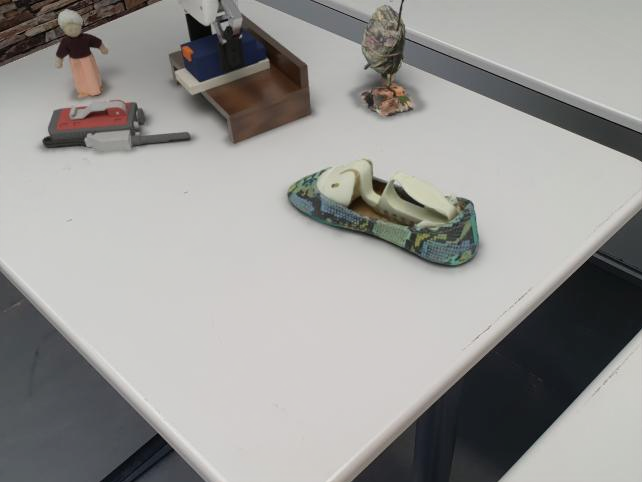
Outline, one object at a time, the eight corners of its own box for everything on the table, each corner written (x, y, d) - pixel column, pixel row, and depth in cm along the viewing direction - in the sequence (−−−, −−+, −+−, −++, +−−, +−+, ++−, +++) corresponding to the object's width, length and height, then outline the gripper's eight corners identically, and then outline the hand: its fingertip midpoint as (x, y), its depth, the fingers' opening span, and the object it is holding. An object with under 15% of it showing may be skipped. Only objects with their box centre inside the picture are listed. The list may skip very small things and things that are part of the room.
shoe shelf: (234, 148, 92) (225, 94, 86) (175, 85, 104) (163, 33, 98) (311, 119, 96) (307, 64, 90) (245, 61, 108) (238, 10, 102)
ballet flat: (311, 176, 88) (306, 119, 82) (493, 234, 79) (503, 175, 73) (273, 216, 83) (265, 159, 77) (462, 282, 74) (471, 224, 68)
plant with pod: (401, 76, 103) (406, -71, 88) (424, 116, 95) (433, -37, 80) (347, 84, 102) (343, -62, 87) (366, 125, 94) (366, -27, 79)
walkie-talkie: (42, 161, 93) (191, 148, 93) (30, 133, 89) (184, 119, 90) (54, 125, 98) (194, 113, 99) (43, 97, 95) (188, 84, 95)
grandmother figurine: (76, 109, 101) (46, 23, 92) (65, 99, 103) (34, 14, 94) (123, 90, 104) (98, 5, 95) (111, 80, 106) (86, -4, 97)
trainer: (191, 95, 92) (184, 60, 89) (176, 79, 95) (168, 45, 92) (270, 68, 96) (266, 33, 93) (252, 53, 99) (248, 19, 96)
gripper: (137, -99, 85) (166, 37, 97) (196, -56, 75) (219, 90, 87) (193, -112, 87) (214, 23, 100) (257, -72, 77) (271, 72, 90)
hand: (216, 54), depth 94 cm, fingers open, 9 cm apart
